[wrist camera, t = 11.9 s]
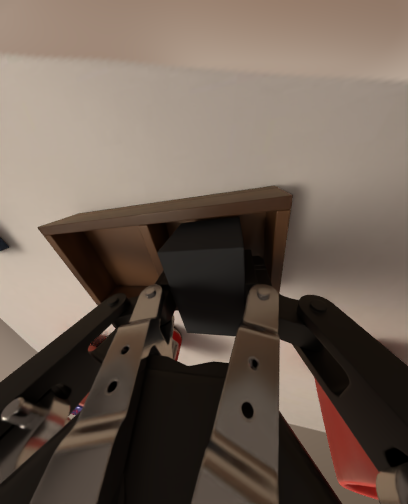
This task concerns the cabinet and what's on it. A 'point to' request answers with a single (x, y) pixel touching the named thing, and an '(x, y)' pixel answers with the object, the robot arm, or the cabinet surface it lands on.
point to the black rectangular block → (207, 275)
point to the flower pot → (347, 451)
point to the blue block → (3, 245)
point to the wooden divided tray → (163, 237)
